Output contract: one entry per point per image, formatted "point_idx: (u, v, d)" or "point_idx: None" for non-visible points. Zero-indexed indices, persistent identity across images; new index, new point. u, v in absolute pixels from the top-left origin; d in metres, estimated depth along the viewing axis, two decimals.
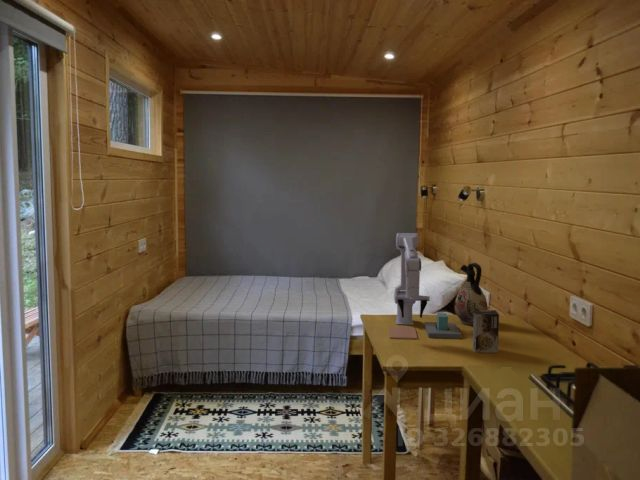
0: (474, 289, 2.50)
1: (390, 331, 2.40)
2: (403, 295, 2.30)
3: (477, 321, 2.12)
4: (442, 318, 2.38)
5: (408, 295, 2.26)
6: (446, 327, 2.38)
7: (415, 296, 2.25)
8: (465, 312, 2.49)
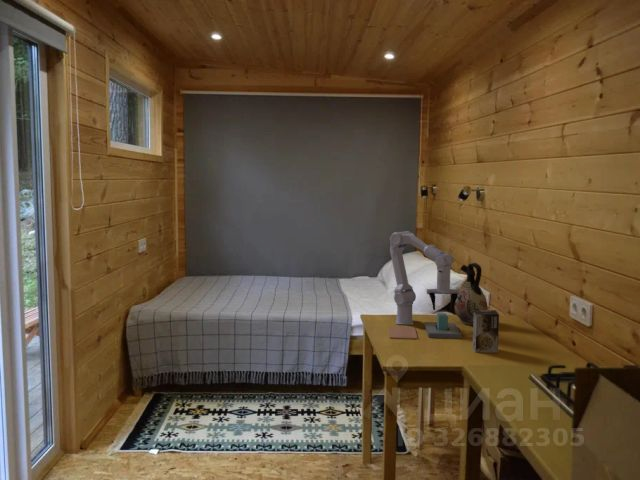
0: (474, 289, 2.50)
1: (390, 331, 2.40)
2: (434, 289, 2.41)
3: (477, 321, 2.12)
4: (442, 318, 2.38)
5: (439, 289, 2.37)
6: (446, 327, 2.38)
7: (446, 290, 2.36)
8: (465, 312, 2.49)
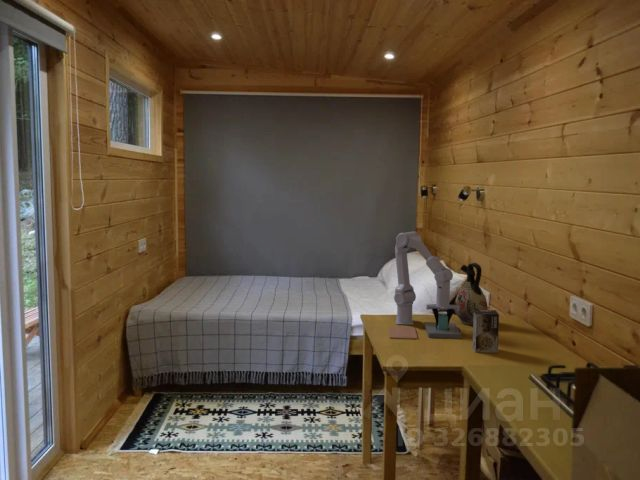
0: (474, 289, 2.50)
1: (390, 331, 2.40)
2: (434, 304, 2.42)
3: (477, 321, 2.12)
4: (442, 318, 2.38)
5: (439, 304, 2.38)
6: (446, 327, 2.38)
7: (446, 305, 2.37)
8: (465, 312, 2.49)
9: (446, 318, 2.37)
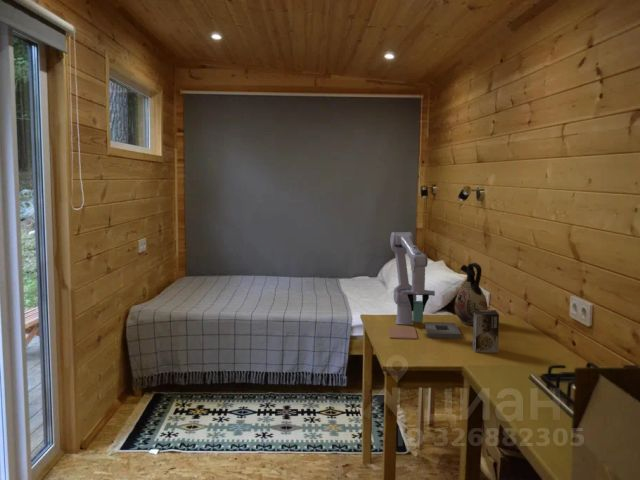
0: (474, 289, 2.50)
1: (390, 331, 2.40)
2: (409, 290, 2.40)
3: (477, 321, 2.12)
4: (417, 305, 2.35)
5: (414, 290, 2.35)
6: (421, 314, 2.36)
7: (421, 291, 2.35)
8: (465, 312, 2.49)
9: (421, 305, 2.35)
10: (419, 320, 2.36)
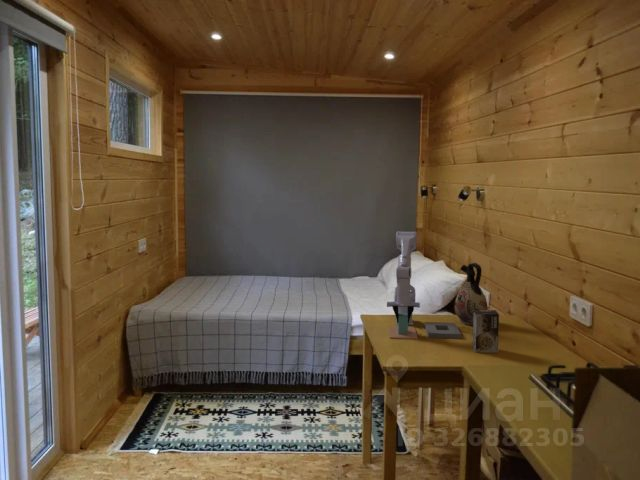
0: (474, 289, 2.50)
1: (390, 331, 2.40)
2: (394, 301, 2.39)
3: (477, 321, 2.12)
4: (402, 318, 2.35)
5: (399, 302, 2.35)
6: (406, 327, 2.35)
7: (406, 302, 2.35)
8: (465, 312, 2.49)
9: (406, 318, 2.35)
10: (404, 333, 2.36)
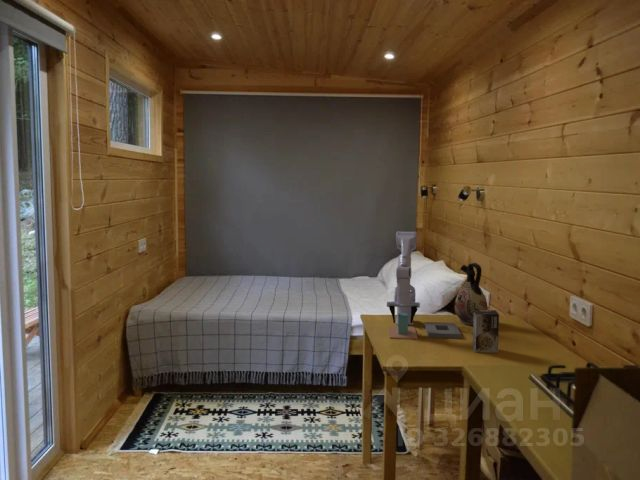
0: (474, 289, 2.50)
1: (390, 331, 2.40)
2: (394, 301, 2.39)
3: (477, 321, 2.12)
4: (402, 318, 2.35)
5: (399, 301, 2.35)
6: (406, 327, 2.35)
7: (406, 302, 2.35)
8: (465, 312, 2.49)
9: (406, 318, 2.35)
10: (404, 333, 2.36)
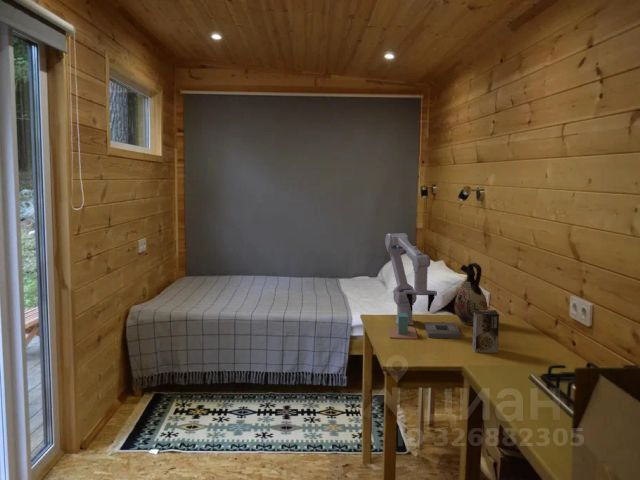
0: (474, 289, 2.50)
1: (390, 331, 2.40)
2: (412, 290, 2.43)
3: (477, 321, 2.12)
4: (402, 318, 2.35)
5: (416, 290, 2.39)
6: (406, 327, 2.35)
7: (423, 291, 2.38)
8: (465, 312, 2.49)
9: (406, 318, 2.35)
10: (404, 333, 2.36)
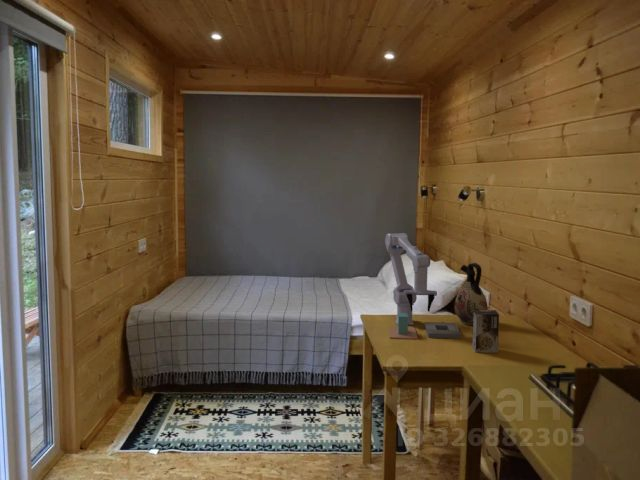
0: (474, 289, 2.50)
1: (390, 331, 2.40)
2: (412, 290, 2.43)
3: (477, 321, 2.12)
4: (402, 318, 2.35)
5: (416, 290, 2.39)
6: (406, 327, 2.35)
7: (423, 291, 2.38)
8: (465, 312, 2.49)
9: (406, 318, 2.35)
10: (404, 333, 2.36)
